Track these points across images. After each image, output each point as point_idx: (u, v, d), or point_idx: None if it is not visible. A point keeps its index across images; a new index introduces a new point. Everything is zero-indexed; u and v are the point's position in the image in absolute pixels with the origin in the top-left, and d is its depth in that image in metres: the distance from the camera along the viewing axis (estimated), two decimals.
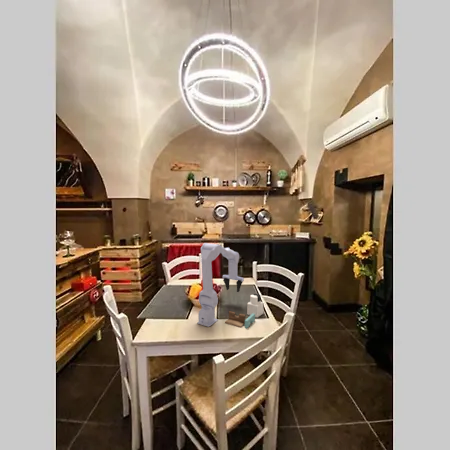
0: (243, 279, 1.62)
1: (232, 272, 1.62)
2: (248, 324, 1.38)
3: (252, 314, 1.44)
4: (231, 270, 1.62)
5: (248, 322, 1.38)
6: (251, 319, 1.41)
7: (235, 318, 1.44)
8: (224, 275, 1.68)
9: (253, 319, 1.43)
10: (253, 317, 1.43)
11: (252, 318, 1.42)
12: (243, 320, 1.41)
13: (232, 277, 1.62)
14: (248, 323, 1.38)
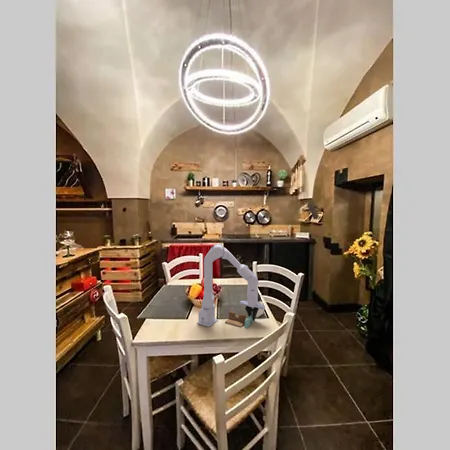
0: (264, 307, 1.40)
1: (252, 299, 1.40)
2: (248, 324, 1.38)
3: (252, 314, 1.44)
4: (247, 295, 1.42)
5: (248, 322, 1.38)
6: (251, 319, 1.41)
7: (235, 318, 1.44)
8: (242, 301, 1.46)
9: None
10: None
11: (252, 318, 1.42)
12: (243, 320, 1.41)
13: (252, 305, 1.40)
14: (248, 323, 1.38)
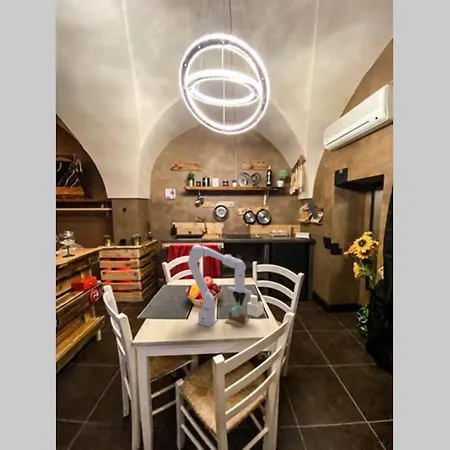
0: (251, 292, 1.42)
1: (239, 284, 1.42)
2: (235, 312, 1.41)
3: (239, 301, 1.46)
4: (235, 281, 1.44)
5: (235, 311, 1.40)
6: (238, 306, 1.43)
7: (235, 318, 1.44)
8: (229, 287, 1.48)
9: None
10: None
11: (239, 305, 1.44)
12: (243, 320, 1.41)
13: (239, 290, 1.42)
14: (235, 311, 1.40)
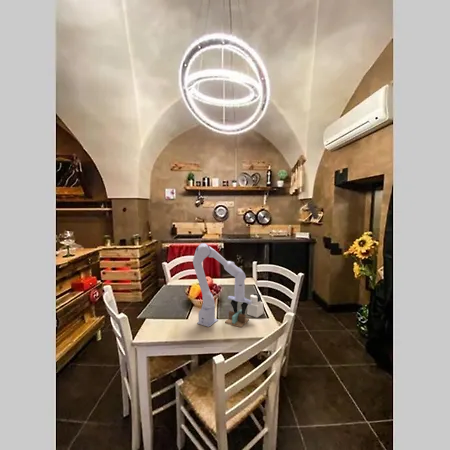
0: (251, 302, 1.43)
1: (239, 294, 1.43)
2: (235, 320, 1.41)
3: (240, 310, 1.48)
4: (235, 290, 1.44)
5: (235, 318, 1.41)
6: None
7: None
8: (229, 296, 1.49)
9: None
10: (241, 313, 1.47)
11: None
12: (243, 320, 1.41)
13: (239, 299, 1.43)
14: (235, 319, 1.41)
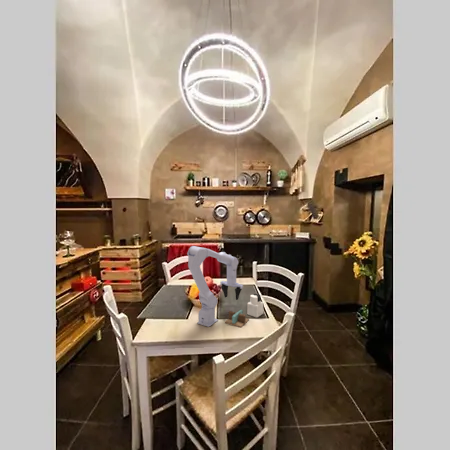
0: (242, 286, 1.50)
1: (230, 278, 1.50)
2: (235, 320, 1.41)
3: (240, 310, 1.48)
4: (228, 276, 1.51)
5: (235, 318, 1.41)
6: None
7: None
8: (222, 281, 1.56)
9: None
10: (241, 313, 1.47)
11: None
12: (243, 320, 1.41)
13: (230, 284, 1.51)
14: (235, 319, 1.41)
